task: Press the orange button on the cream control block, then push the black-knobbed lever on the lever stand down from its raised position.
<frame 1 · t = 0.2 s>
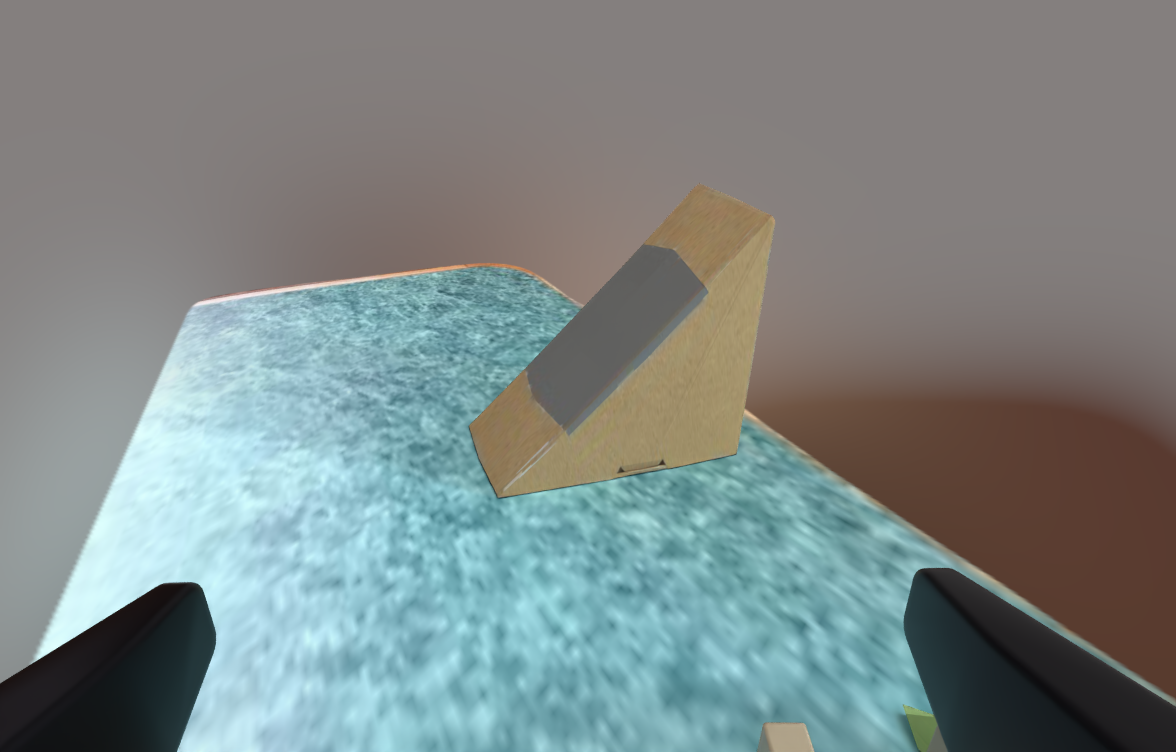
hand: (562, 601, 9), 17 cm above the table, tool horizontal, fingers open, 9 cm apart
sandwich container: (598, 442, 44), on the table
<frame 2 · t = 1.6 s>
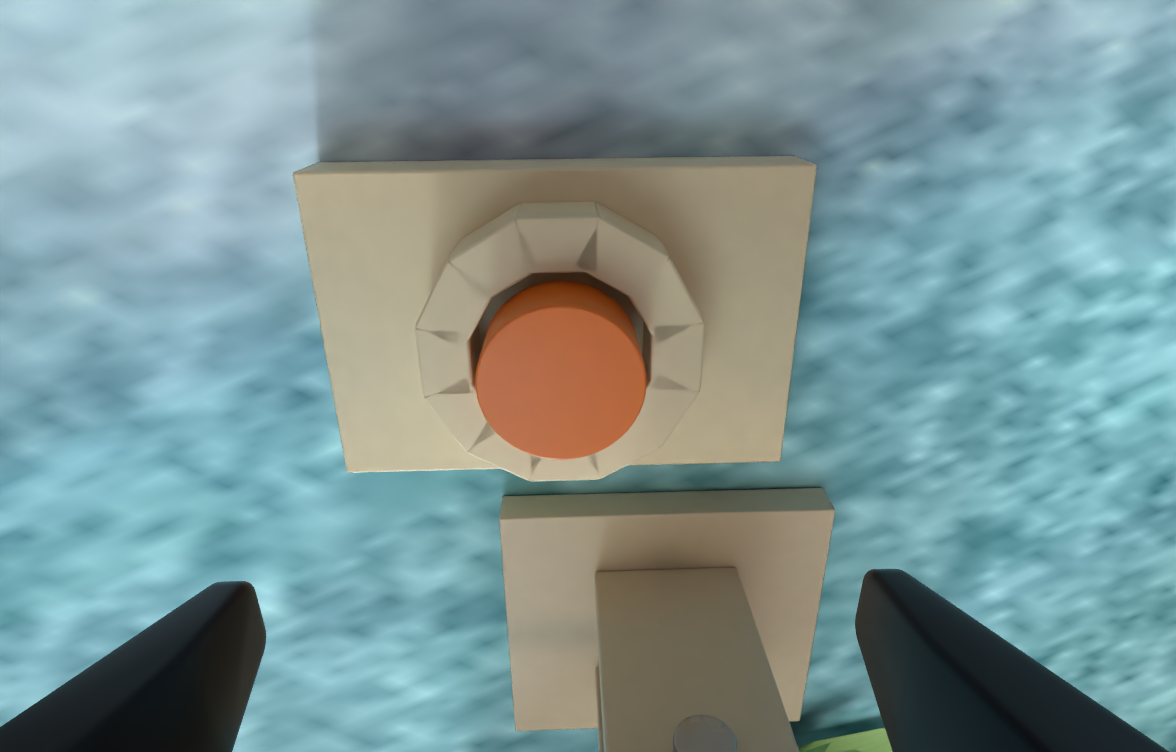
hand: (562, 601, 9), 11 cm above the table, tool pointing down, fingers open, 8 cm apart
control block: (561, 310, 19), on the table
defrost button: (561, 369, 15), point 4 cm above the table, slide at 0.1 cm
lever stand: (658, 602, 23), on the table
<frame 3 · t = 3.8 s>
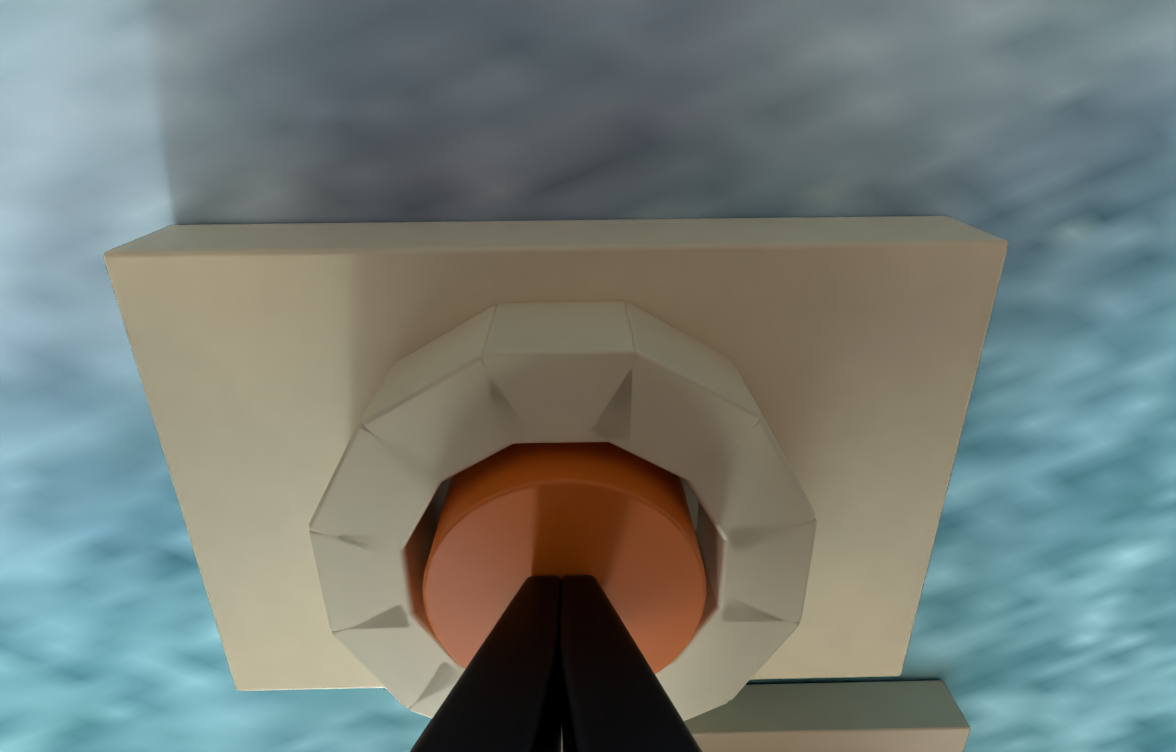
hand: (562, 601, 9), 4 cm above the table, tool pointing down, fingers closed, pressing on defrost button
control block: (567, 444, 12), on the table
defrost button: (565, 555, 9), point 3 cm above the table, slide at -0.9 cm, touching gripper
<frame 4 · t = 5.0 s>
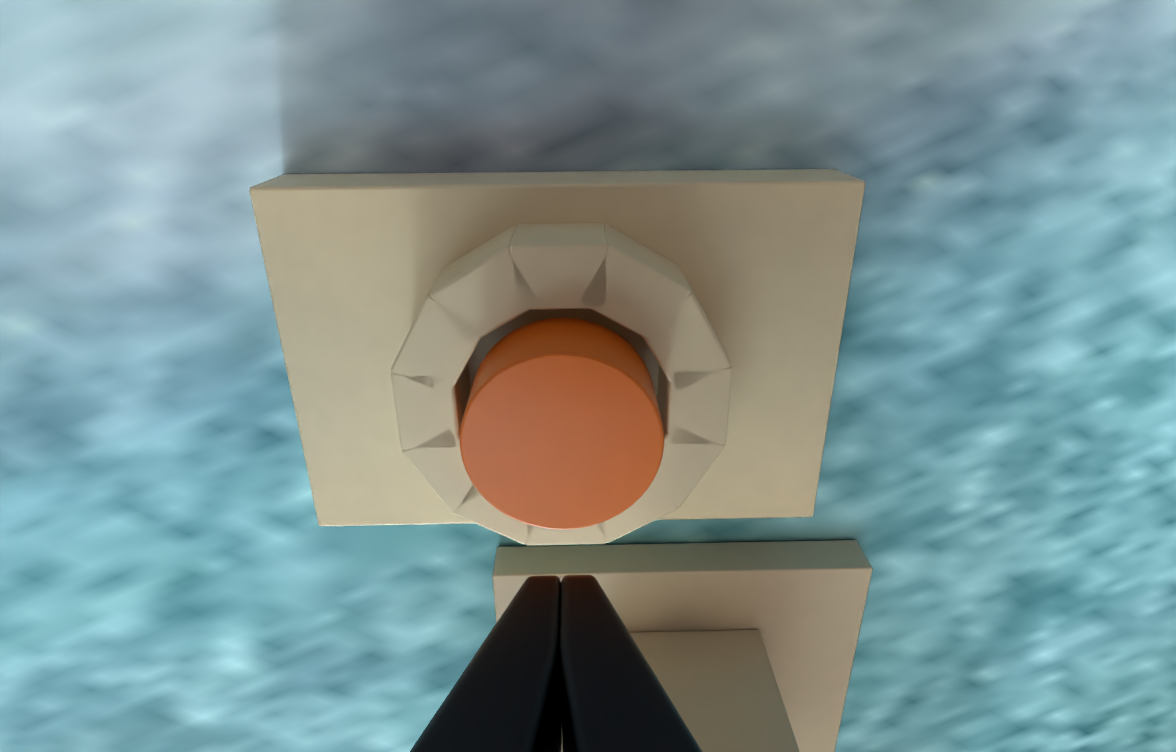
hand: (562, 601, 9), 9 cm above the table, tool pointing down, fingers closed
control block: (564, 343, 17), on the table
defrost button: (562, 423, 13), point 4 cm above the table, slide at 0.1 cm
lever stand: (670, 662, 21), on the table
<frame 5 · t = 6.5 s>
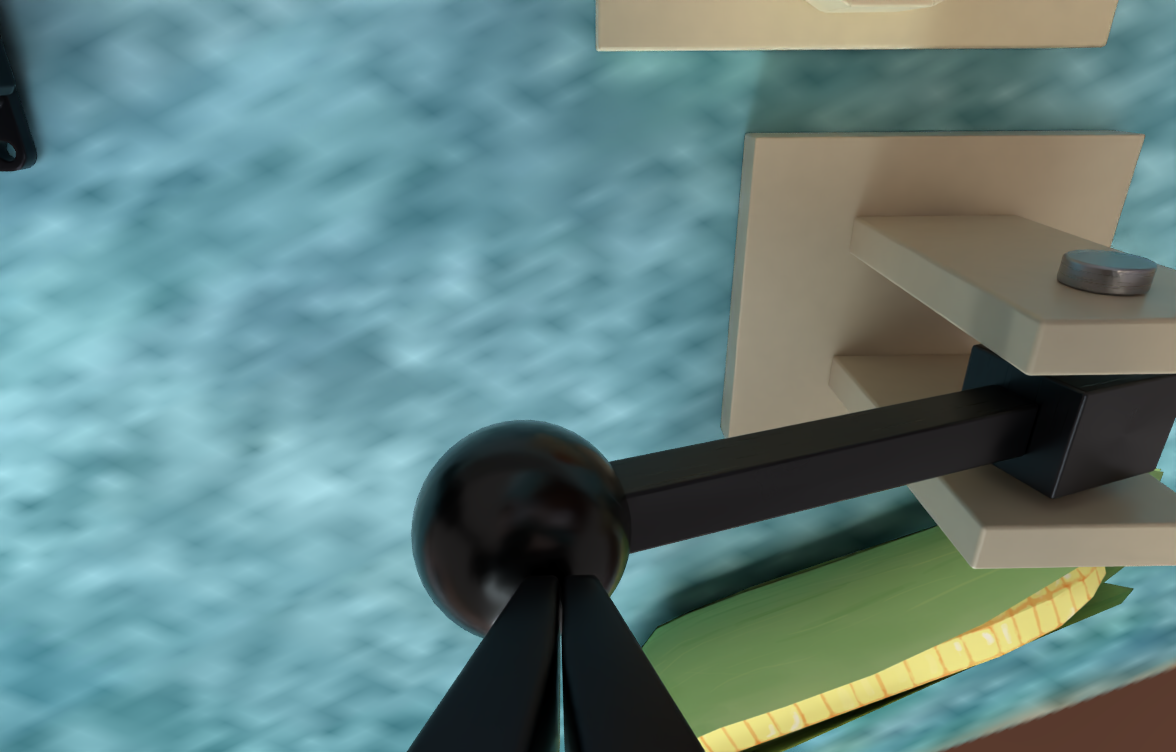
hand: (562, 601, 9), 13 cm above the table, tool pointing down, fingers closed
edible corn: (862, 571, 25), on the table
black lever handle: (827, 460, 12), point 9 cm above the table, hinge at 19.1°, touching gripper
lever stand: (899, 291, 20), on the table
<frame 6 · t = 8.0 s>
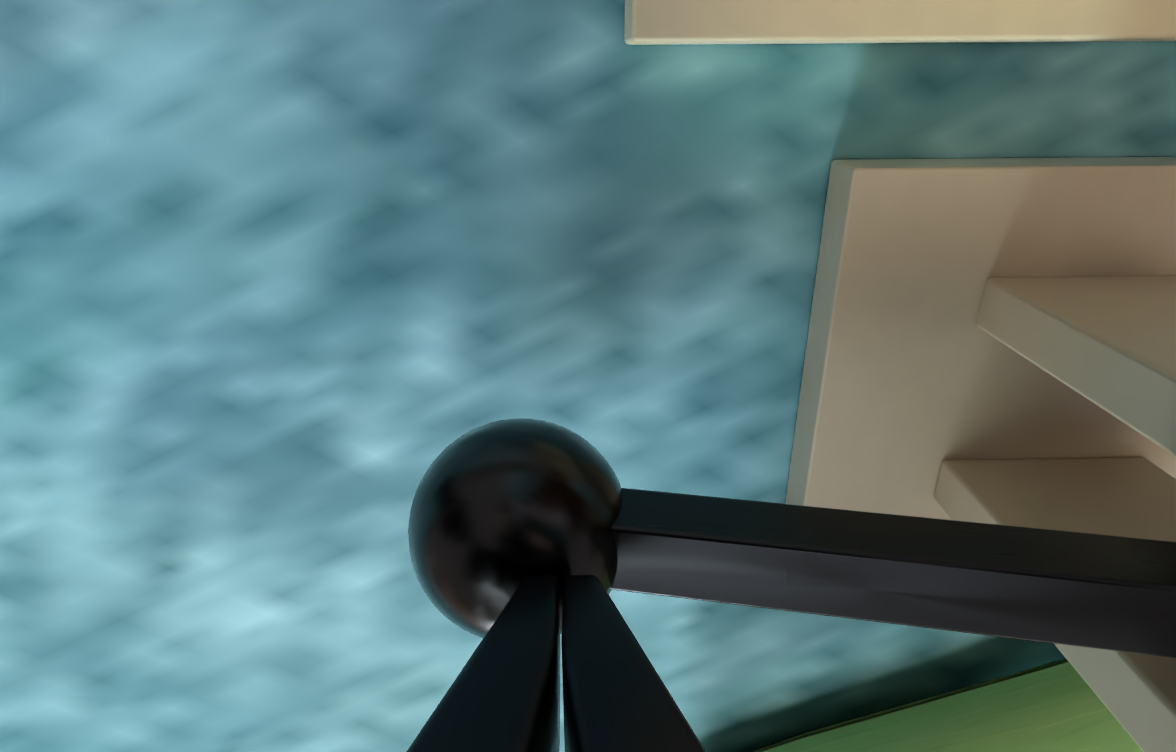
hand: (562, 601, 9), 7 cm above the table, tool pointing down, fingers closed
edible corn: (951, 705, 20), on the table
black lever handle: (909, 569, 9), point 6 cm above the table, hinge at -11.5°, touching gripper
lever stand: (1027, 370, 15), on the table
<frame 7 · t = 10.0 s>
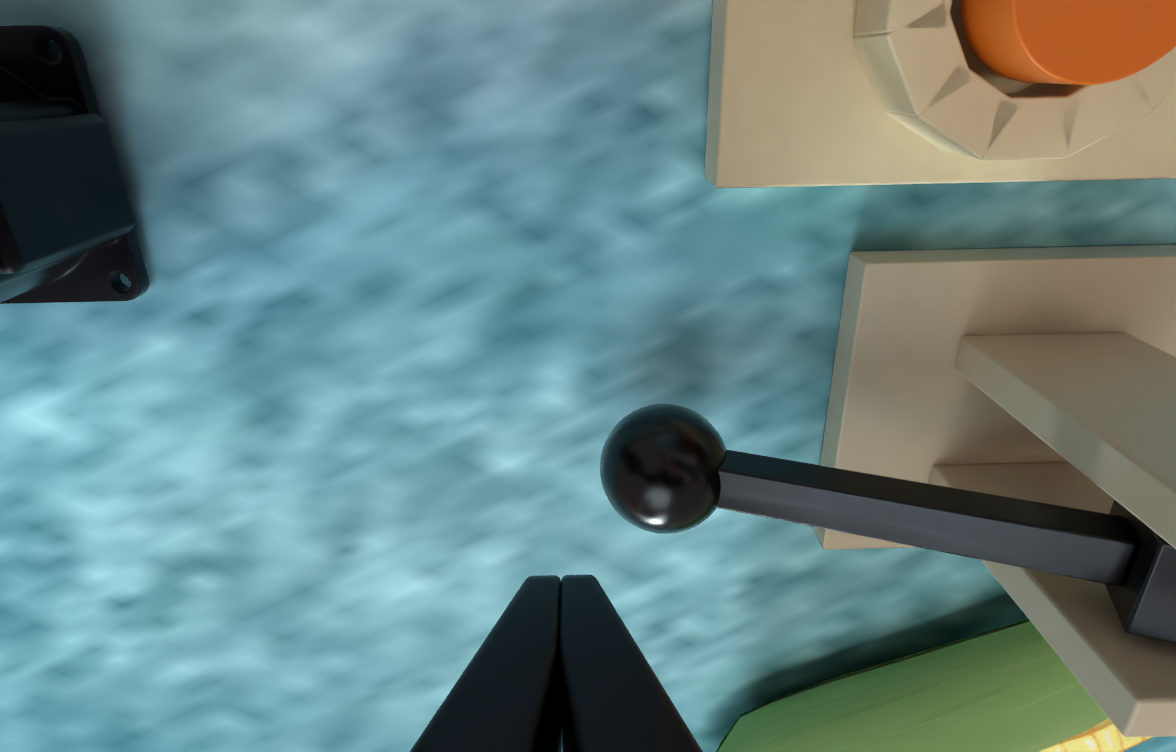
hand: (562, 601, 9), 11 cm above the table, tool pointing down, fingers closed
edible corn: (946, 658, 25), on the table
black lever handle: (898, 510, 15), point 5 cm above the table, hinge at -21.6°
lever stand: (997, 397, 20), on the table
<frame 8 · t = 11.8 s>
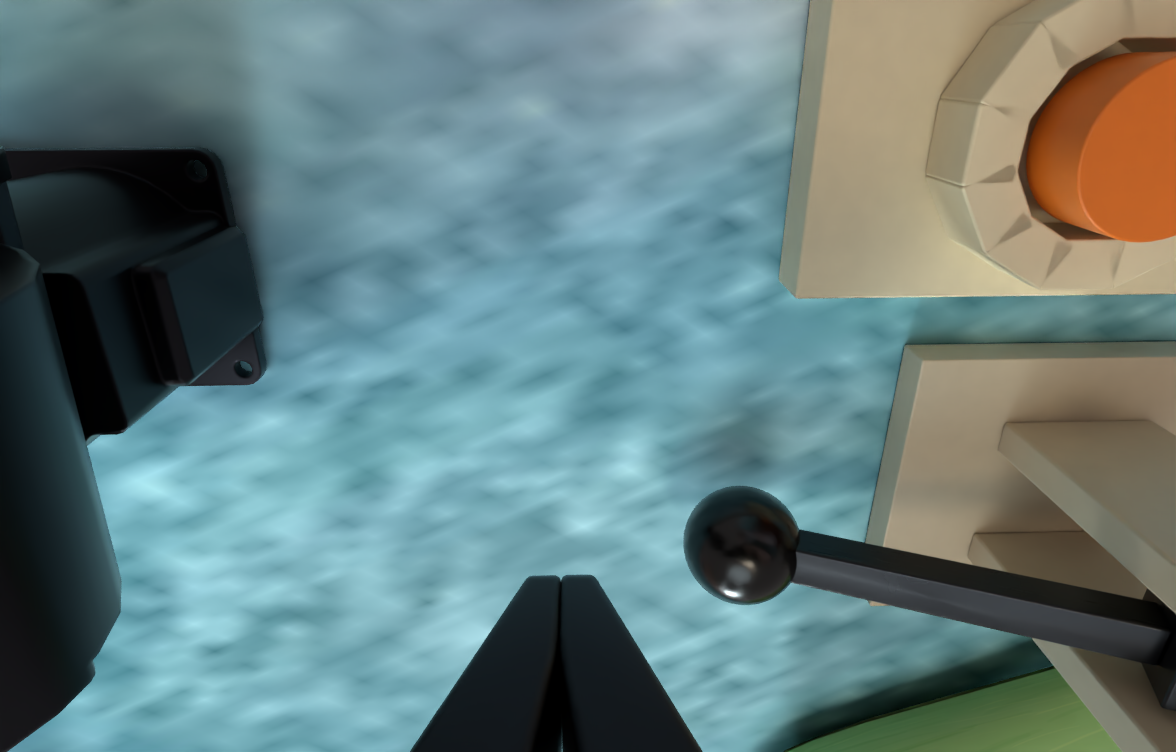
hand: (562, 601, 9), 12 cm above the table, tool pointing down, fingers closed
edible corn: (974, 698, 27), on the table
control block: (1023, 129, 18), on the table
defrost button: (1138, 147, 14), point 4 cm above the table, slide at 0.1 cm
black lever handle: (957, 590, 17), point 5 cm above the table, hinge at -21.6°
lever stand: (1030, 470, 22), on the table
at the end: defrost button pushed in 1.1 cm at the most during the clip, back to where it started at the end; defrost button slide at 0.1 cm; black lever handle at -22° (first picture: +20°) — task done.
